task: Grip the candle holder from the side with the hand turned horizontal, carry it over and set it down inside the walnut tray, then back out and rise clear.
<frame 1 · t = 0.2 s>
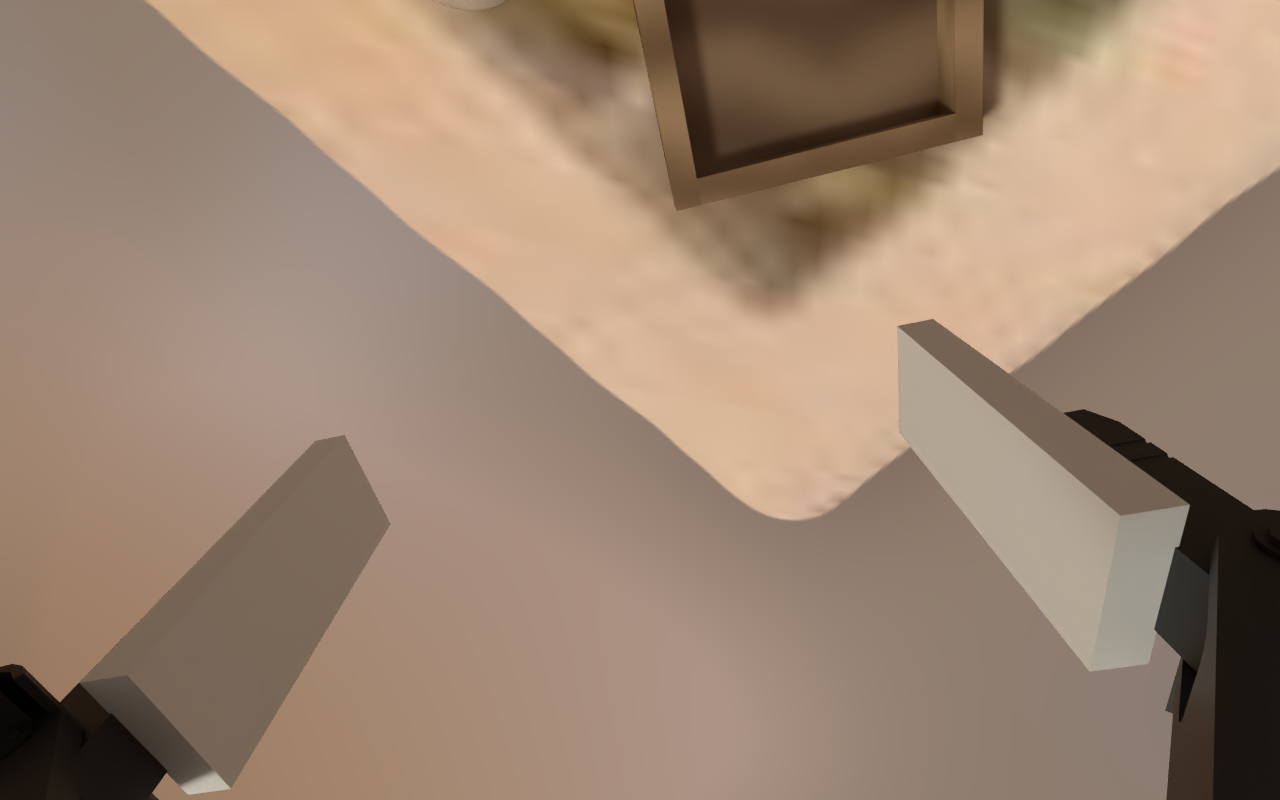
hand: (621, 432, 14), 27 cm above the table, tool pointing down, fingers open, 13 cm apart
walnut tray: (796, 6, 33), on the table
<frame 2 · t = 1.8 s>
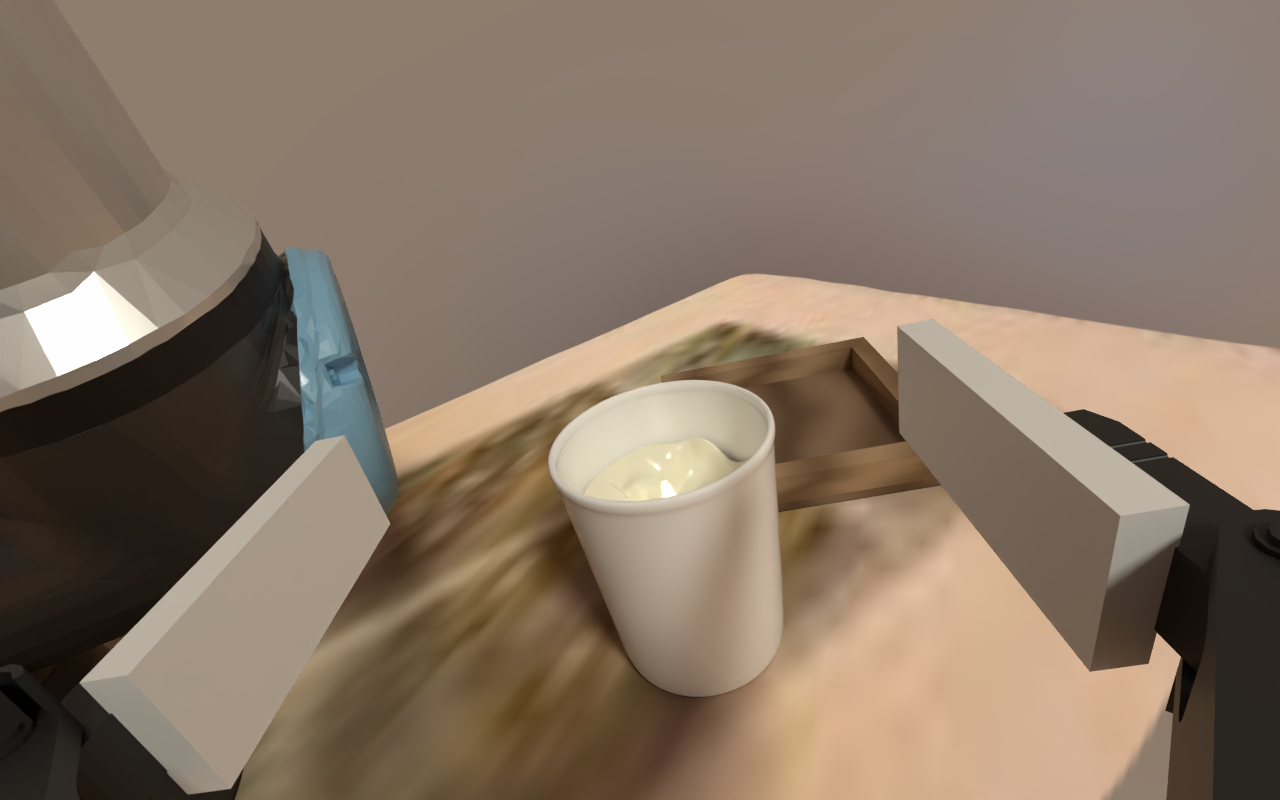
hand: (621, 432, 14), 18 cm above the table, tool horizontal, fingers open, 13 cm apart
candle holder: (703, 628, 30), on the table
walnut tray: (785, 433, 44), on the table
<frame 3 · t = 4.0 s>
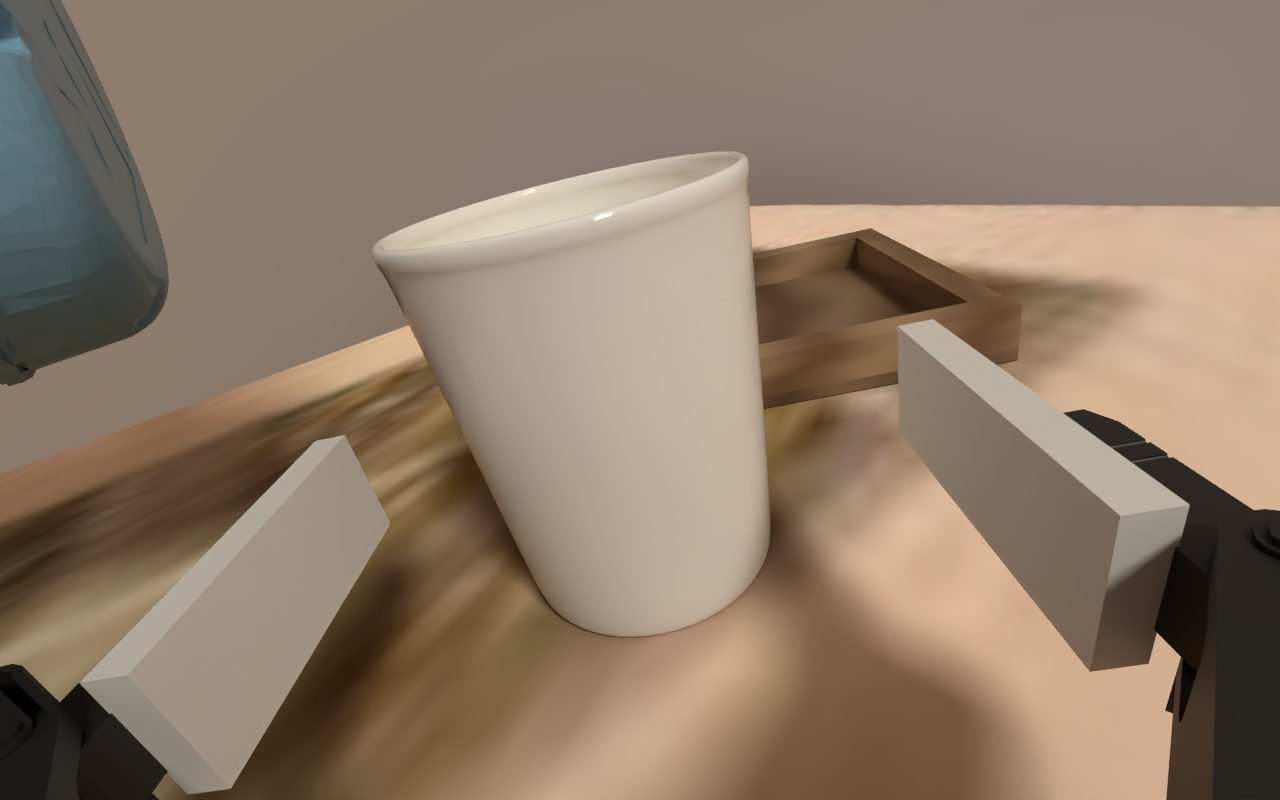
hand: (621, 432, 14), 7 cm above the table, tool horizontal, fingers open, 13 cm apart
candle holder: (653, 547, 21), on the table
walnut tray: (775, 331, 35), on the table
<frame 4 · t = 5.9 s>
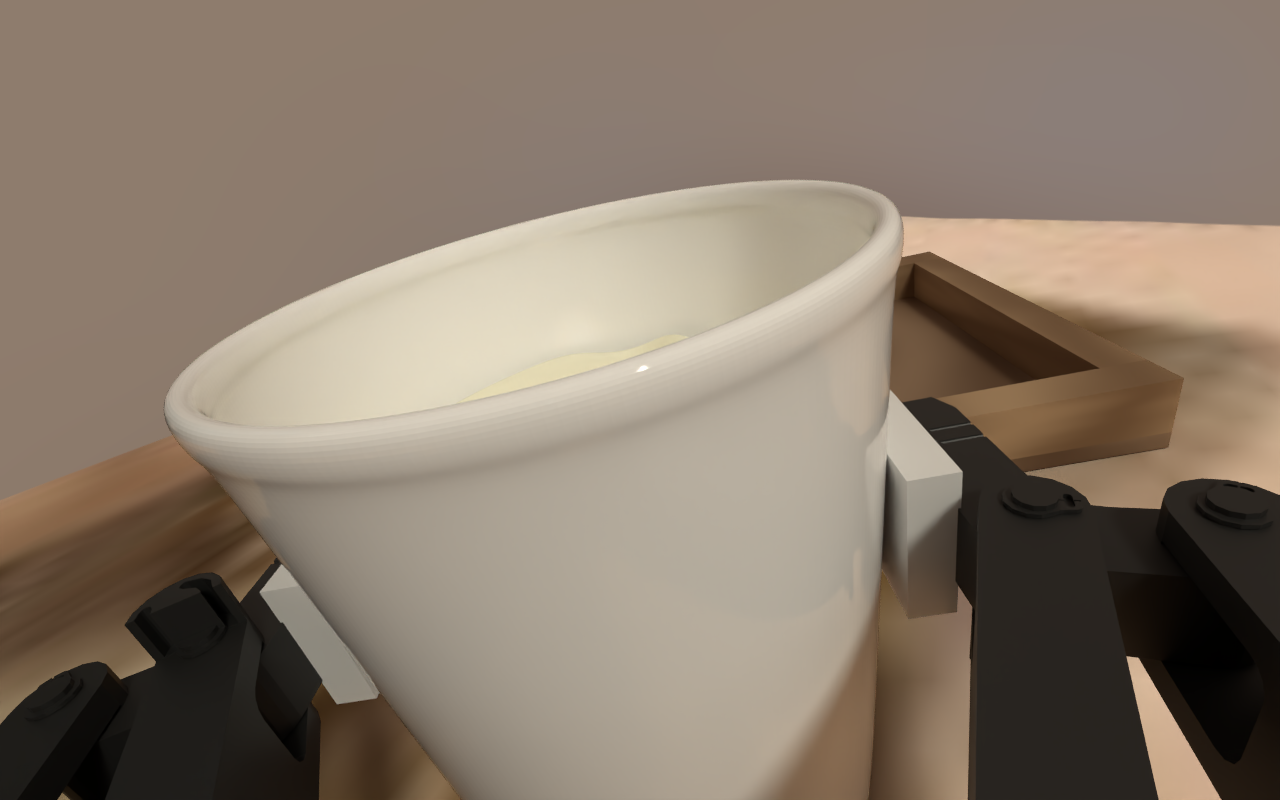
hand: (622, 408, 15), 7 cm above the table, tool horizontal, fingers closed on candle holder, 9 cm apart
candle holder: (685, 754, 14), on the table, touching gripper
walnut tray: (822, 384, 28), on the table
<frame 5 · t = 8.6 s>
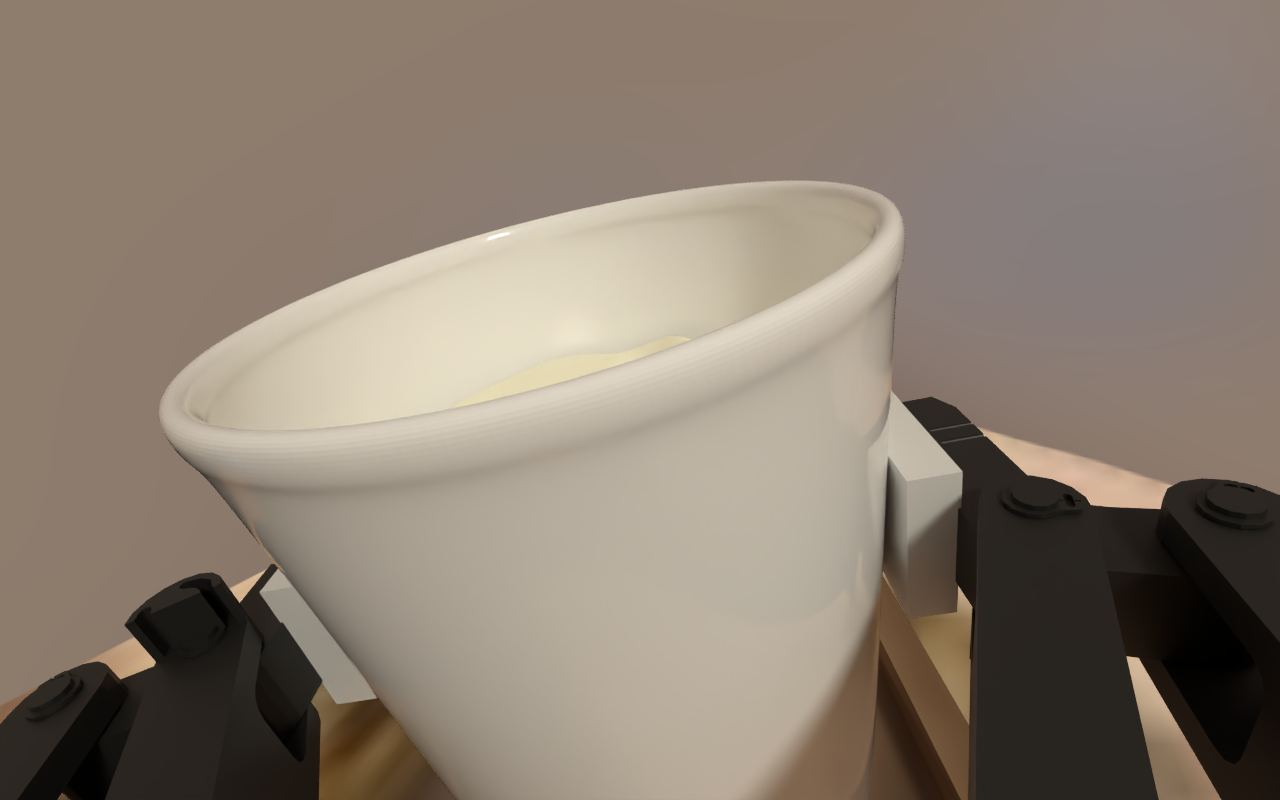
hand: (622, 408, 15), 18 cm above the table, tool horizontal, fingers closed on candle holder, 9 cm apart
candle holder: (685, 757, 14), point 11 cm above the table, touching gripper
walnut tray: (725, 757, 24), on the table
when the fingers open (9 cm above the table, at t = 11.6 s): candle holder drops 1 cm, resting on walnut tray.
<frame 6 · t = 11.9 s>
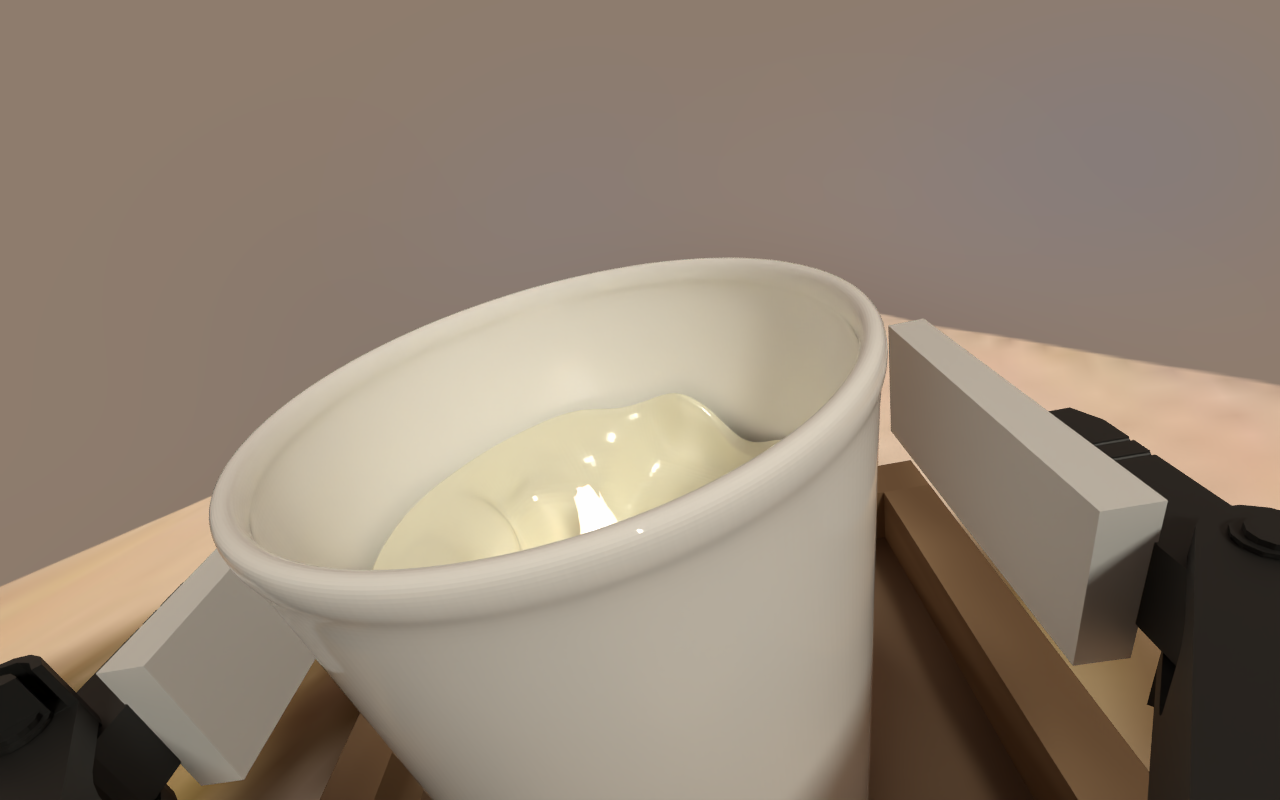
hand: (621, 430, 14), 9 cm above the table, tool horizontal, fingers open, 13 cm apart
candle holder: (690, 793, 15), resting on walnut tray
walnut tray: (698, 798, 15), on the table
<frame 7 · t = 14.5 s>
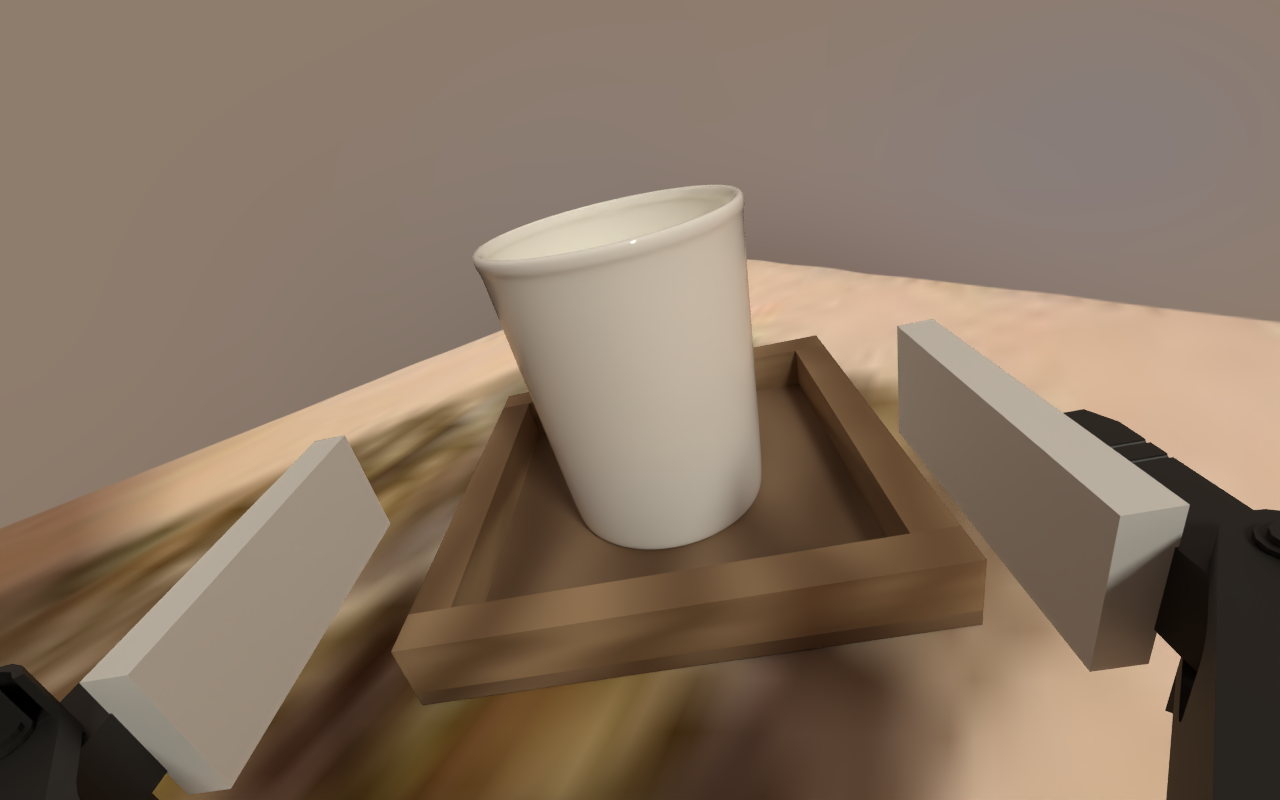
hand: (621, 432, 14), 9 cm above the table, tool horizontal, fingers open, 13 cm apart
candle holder: (670, 491, 26), resting on walnut tray
walnut tray: (674, 496, 26), on the table
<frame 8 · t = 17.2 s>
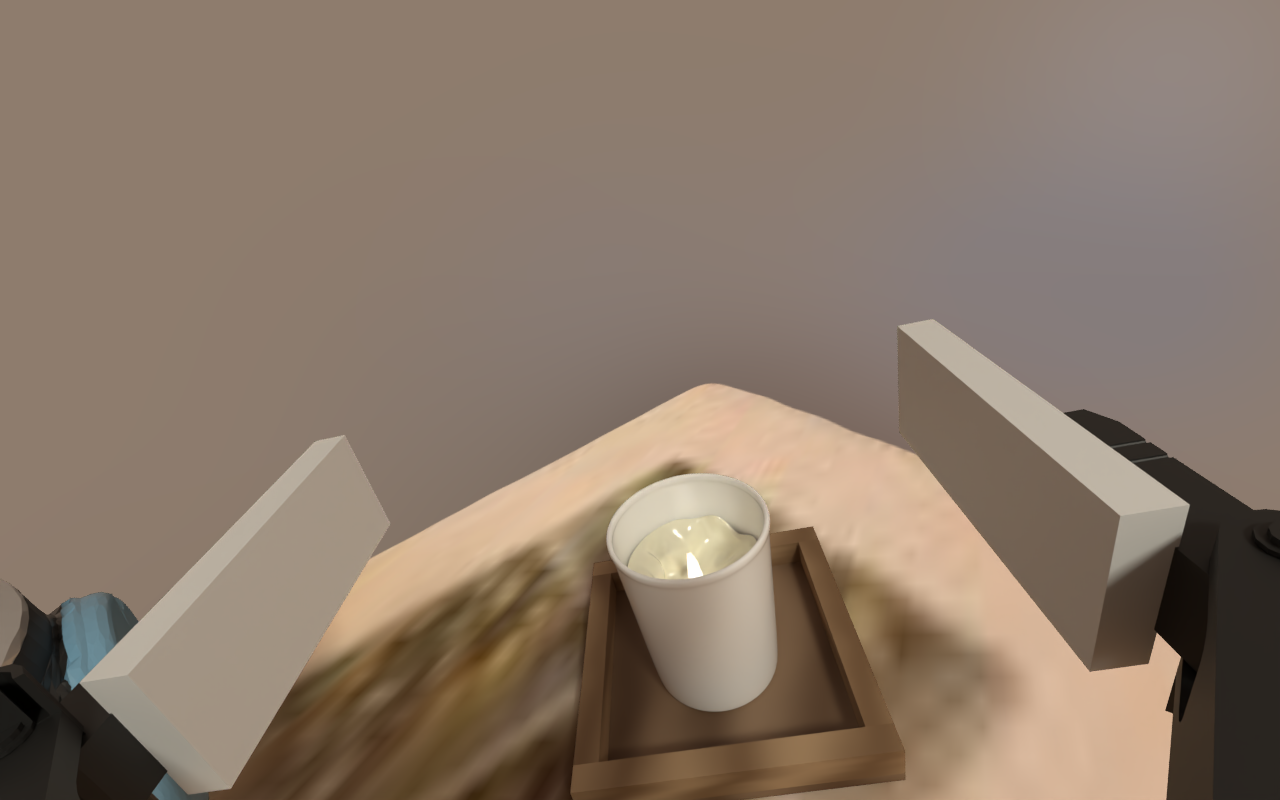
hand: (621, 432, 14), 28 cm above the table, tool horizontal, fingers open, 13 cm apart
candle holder: (717, 658, 40), resting on walnut tray
walnut tray: (719, 661, 40), on the table
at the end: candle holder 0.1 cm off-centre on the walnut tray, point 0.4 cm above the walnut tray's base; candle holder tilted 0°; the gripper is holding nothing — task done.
